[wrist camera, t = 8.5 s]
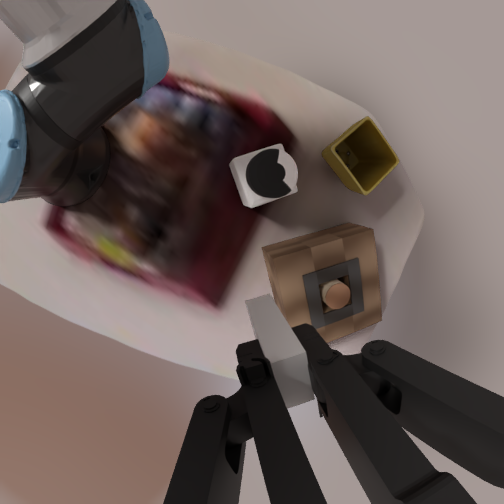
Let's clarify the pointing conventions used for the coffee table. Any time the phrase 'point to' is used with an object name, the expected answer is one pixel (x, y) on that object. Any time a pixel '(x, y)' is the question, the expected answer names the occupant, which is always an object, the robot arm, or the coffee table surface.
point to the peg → (334, 293)
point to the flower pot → (361, 157)
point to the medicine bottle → (264, 175)
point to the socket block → (326, 279)
